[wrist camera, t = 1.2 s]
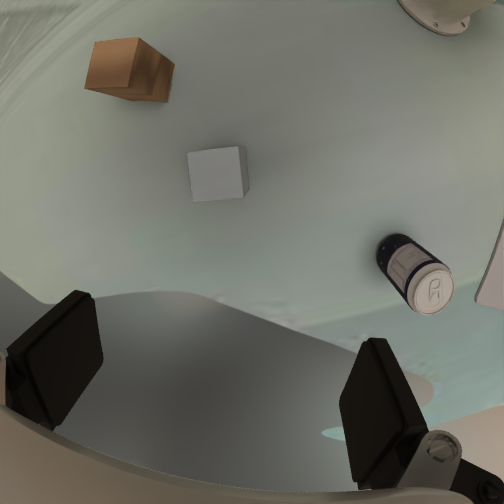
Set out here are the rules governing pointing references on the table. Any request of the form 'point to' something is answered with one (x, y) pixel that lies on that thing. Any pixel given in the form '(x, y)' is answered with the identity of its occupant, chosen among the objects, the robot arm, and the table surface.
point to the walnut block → (130, 71)
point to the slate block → (218, 174)
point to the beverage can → (416, 274)
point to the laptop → (493, 278)
